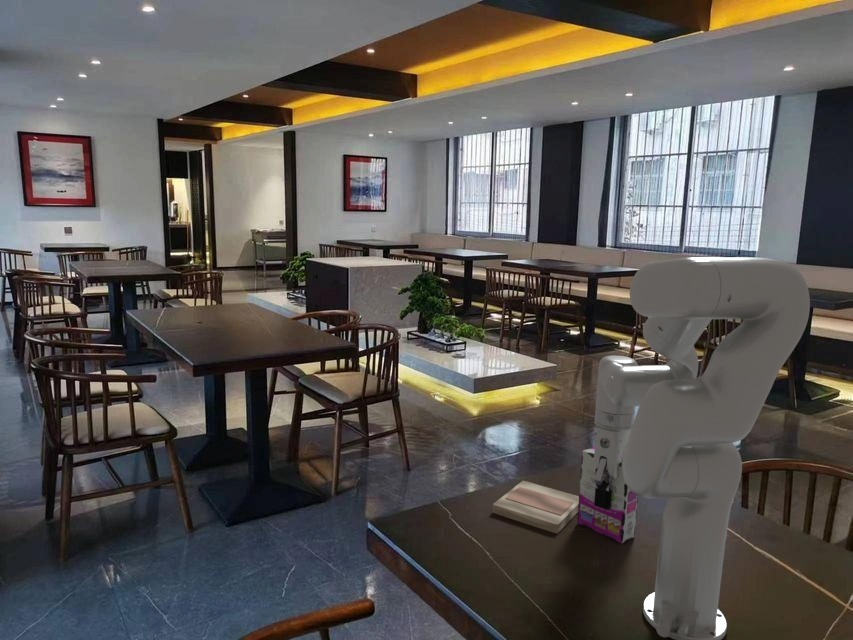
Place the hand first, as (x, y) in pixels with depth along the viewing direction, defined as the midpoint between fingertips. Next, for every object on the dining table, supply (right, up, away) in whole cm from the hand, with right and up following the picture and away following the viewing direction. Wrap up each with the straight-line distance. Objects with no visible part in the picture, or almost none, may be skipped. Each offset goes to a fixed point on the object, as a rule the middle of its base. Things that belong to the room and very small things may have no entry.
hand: (607, 500), depth 129 cm
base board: (-13, -5, +9) cm, 16 cm away
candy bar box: (0, -7, +1) cm, 7 cm away
